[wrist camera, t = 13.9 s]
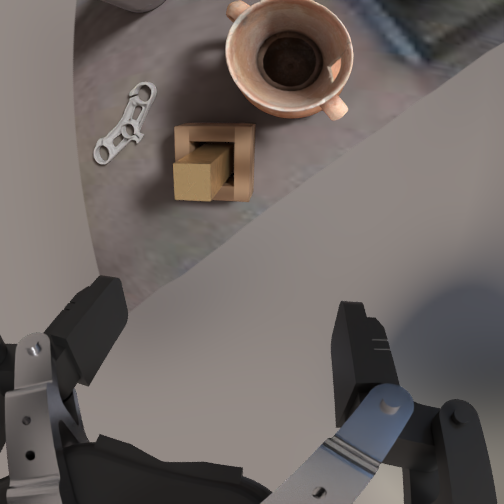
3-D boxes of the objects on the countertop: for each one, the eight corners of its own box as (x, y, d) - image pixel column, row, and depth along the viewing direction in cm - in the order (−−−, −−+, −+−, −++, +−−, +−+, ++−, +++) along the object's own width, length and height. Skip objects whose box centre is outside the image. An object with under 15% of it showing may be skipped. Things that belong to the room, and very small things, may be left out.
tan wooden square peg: (207, 142, 44) (173, 163, 31) (234, 143, 43) (210, 164, 31) (207, 169, 45) (174, 199, 33) (233, 170, 45) (210, 201, 33)
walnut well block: (186, 122, 42) (174, 126, 38) (255, 123, 41) (250, 127, 37) (187, 187, 47) (177, 198, 43) (253, 191, 46) (248, 202, 42)
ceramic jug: (369, 85, 37) (403, 79, 24) (289, 144, 42) (287, 163, 30) (284, -8, 32) (279, -51, 19) (205, 52, 37) (168, 34, 25)
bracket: (79, 135, 43) (145, 77, 38) (86, 133, 45) (150, 77, 40) (102, 171, 46) (171, 117, 41) (108, 168, 48) (175, 116, 42)
